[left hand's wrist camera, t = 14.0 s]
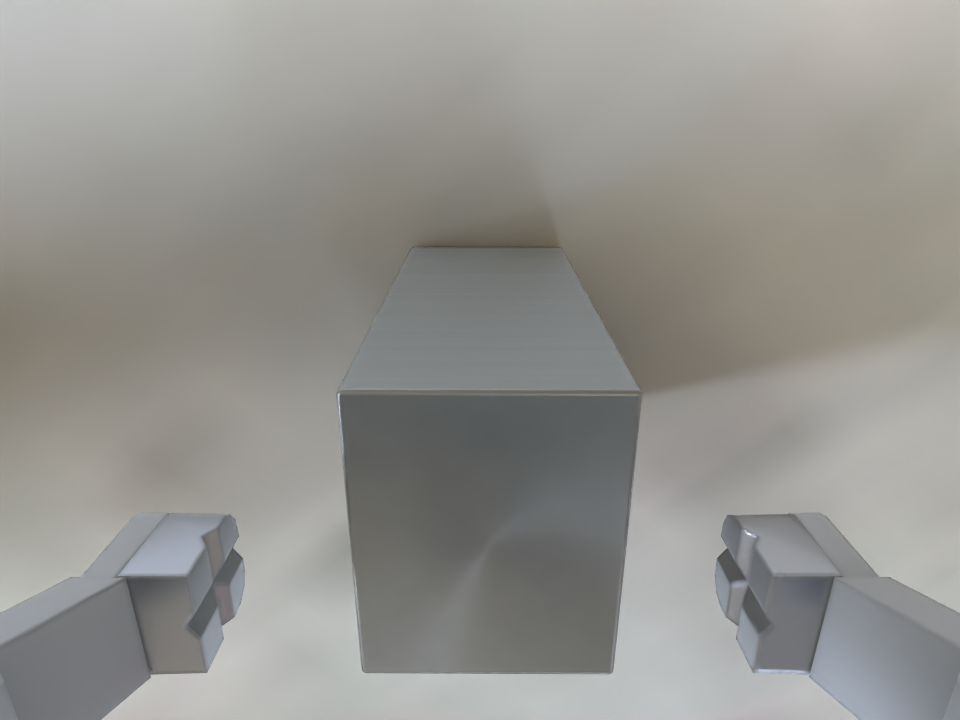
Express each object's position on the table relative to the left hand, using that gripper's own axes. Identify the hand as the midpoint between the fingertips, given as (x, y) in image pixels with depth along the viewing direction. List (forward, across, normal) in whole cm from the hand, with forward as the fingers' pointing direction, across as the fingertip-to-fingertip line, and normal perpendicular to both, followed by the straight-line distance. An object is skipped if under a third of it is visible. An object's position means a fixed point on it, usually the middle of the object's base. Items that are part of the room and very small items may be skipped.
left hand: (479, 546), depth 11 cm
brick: (+10, 0, 0) cm, 10 cm away
